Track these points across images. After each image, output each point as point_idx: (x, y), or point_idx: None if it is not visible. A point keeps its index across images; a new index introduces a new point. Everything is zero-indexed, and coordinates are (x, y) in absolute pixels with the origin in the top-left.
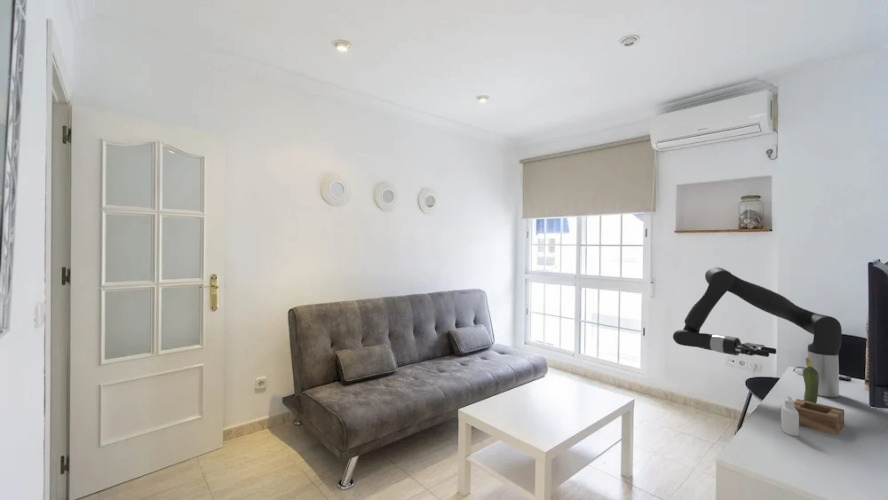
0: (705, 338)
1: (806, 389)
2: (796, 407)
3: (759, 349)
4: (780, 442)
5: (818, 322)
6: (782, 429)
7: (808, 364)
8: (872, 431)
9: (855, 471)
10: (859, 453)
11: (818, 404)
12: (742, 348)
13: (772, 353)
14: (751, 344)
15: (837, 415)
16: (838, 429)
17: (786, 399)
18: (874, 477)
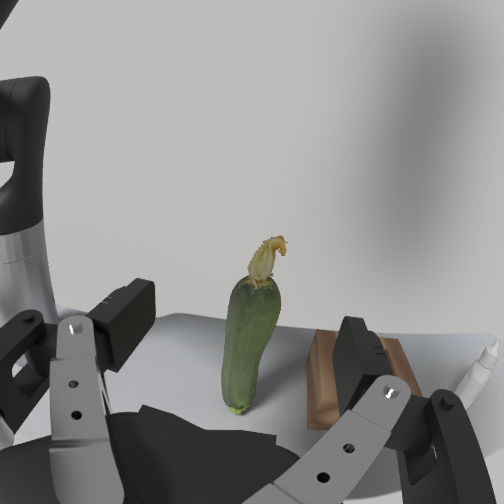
0: None
1: (252, 364)
2: (411, 388)
3: (31, 380)
4: (497, 402)
5: (38, 95)
6: None
7: (271, 266)
8: (294, 333)
9: (474, 345)
10: (424, 346)
11: (328, 361)
12: (481, 474)
13: (145, 332)
14: (106, 425)
15: None
16: None
17: (498, 352)
18: (468, 335)
